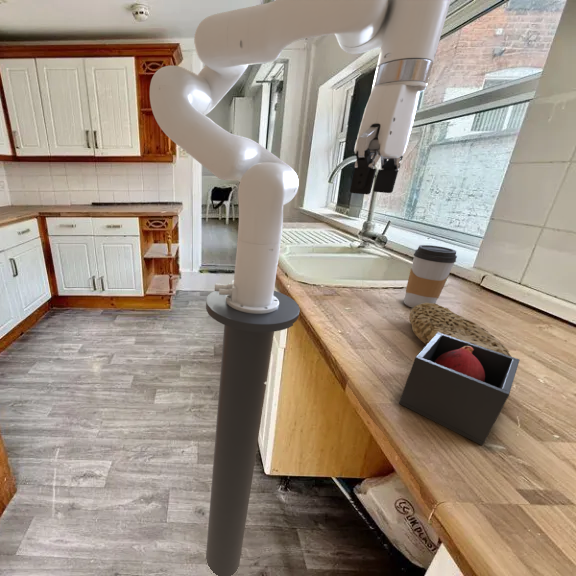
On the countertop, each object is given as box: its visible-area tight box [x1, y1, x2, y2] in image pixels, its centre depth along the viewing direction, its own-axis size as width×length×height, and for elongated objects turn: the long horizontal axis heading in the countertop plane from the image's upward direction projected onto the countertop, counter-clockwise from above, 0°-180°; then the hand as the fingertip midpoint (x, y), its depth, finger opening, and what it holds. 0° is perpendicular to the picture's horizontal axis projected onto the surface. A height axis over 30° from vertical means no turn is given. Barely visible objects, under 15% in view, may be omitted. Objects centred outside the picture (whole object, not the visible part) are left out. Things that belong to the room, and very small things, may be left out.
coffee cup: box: [403, 244, 458, 309], centre depth 76 cm, size 8×8×15 cm
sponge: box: [409, 303, 512, 357], centre depth 58 cm, size 13×8×20 cm
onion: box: [434, 346, 485, 382], centre depth 45 cm, size 6×6×8 cm
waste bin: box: [398, 332, 520, 446], centre depth 44 cm, size 11×9×8 cm
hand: (371, 192), depth 55 cm, fingers open, 9 cm apart
